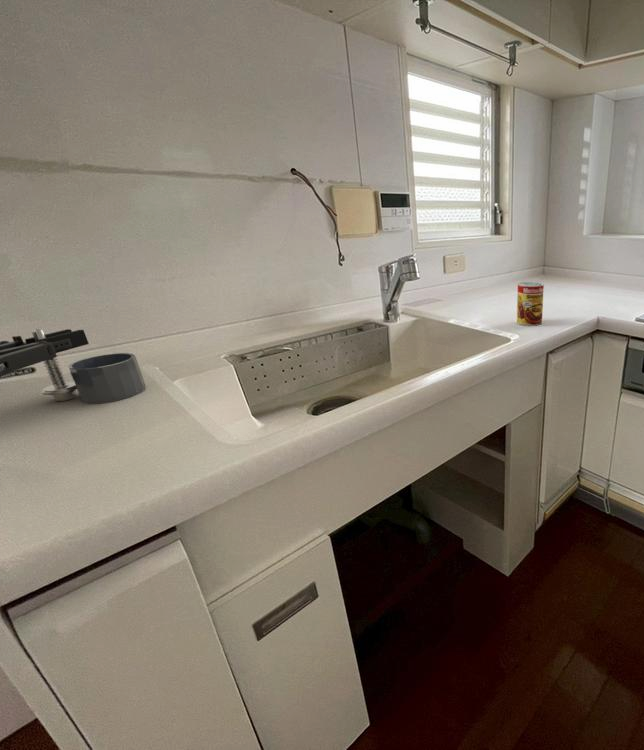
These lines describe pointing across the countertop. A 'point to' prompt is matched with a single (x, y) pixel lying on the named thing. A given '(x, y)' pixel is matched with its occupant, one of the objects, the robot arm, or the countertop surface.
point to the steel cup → (107, 377)
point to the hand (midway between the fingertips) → (77, 336)
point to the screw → (56, 376)
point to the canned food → (530, 303)
